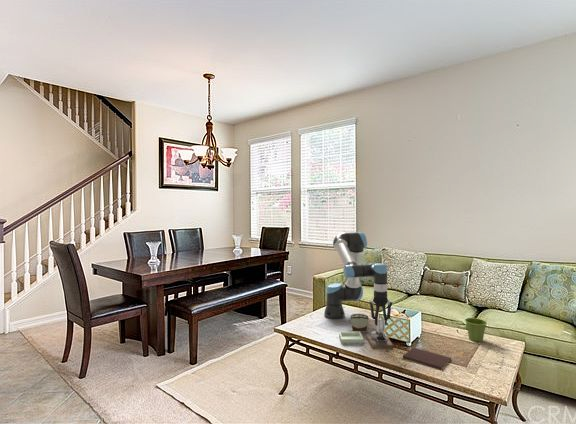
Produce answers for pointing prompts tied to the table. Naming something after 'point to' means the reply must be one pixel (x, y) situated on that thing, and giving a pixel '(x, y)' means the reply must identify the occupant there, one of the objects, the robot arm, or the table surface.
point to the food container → (359, 322)
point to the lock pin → (381, 328)
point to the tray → (351, 338)
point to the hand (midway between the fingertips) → (380, 330)
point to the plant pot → (475, 328)
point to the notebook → (427, 358)
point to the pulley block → (378, 341)
